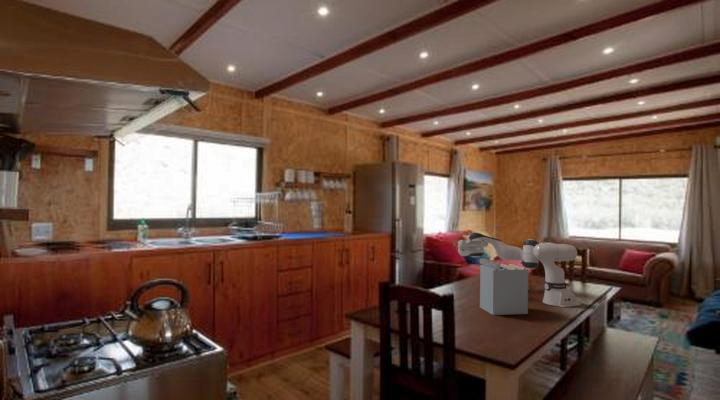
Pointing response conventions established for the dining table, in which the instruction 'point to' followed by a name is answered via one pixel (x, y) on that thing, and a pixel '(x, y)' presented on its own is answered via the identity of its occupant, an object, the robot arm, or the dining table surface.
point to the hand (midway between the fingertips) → (477, 240)
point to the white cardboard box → (504, 289)
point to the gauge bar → (490, 263)
